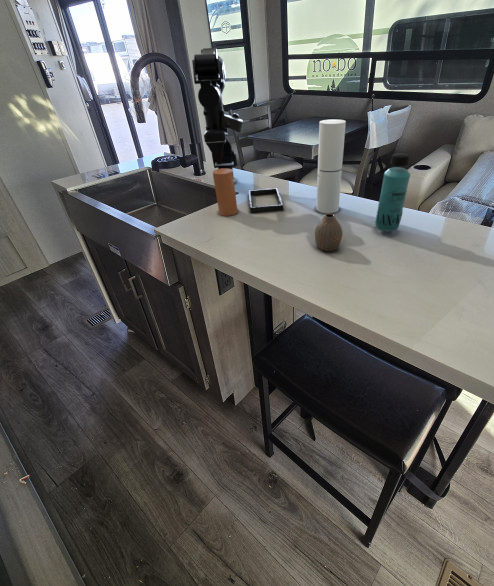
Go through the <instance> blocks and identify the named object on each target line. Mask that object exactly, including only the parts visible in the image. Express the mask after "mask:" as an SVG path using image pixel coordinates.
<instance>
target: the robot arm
mask: <svg viewBox="0 0 494 586" xmlns="http://www.w3.org/2000/svg"><path fill="white" fill-rule="evenodd" d="M191 61H192V74H193V83H194V85H200V88H199V90H198V93H197V97H198V98H197V99H198V102H199V103H200V105H201V106H202V108H203V112H202V113H203V116H204V121H205V132H204V133H203V139H204V140H203V141H204V143H205V145H206V146H207V148H208V149H209V151H210V153H211V159H212V162H213V163H212V164H213V168H214V169H222V168H229V169H232V170H233V171H234V168H236V167H238V159H237V153H236V152H235V150H234V149H233V148H232V145H231V143H230V141H229V140H228V138H227V137H228V134H229V133H228V132H229V130H228V129H230V130H232V131H235V132H236V133H241V131H242V127H243V122H244V121H243V119H241V118H240V117H239V114H238V113H235V112H234V113H232V114H231V115H228V114H226V113H225V109H224V104H223V96H222V95H223V92H224V90H225V87H226V86H225V85H226V84H225V81H226V80H227V76H226V68H225V62H224V60H223V58H222V57H221V56H220V55H218V51H217V48H214V47H205V48H204V47H203V48H202V49H200V53H199V54H194V55H193V59H191ZM234 175H235V174H233V178H234V184H236V177H235V176H234Z"/></svg>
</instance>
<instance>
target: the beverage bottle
mask: <svg viewBox="0 0 494 586" xmlns="http://www.w3.org/2000/svg"><path fill="white" fill-rule="evenodd" d="M409 160H410V155H409V154H406V153H393V154H392V156H391V159H390V162H389V164H390V165H391V166H396V167H390V168H388V169H387V170H385V171H384V173H383V178H382V184H381V191H380V196H379V199H378V205H377V210H376V214H375V220H374V222H375V228H376V229H378V230H379V231H382V232H383V231H384V232H394V231H397V230H398V228H399V227H400V224H401V222H402V217H403V211H404V205H405V203H406V202H405V201H406V196H407V193H408V191H407V190H408V186H409V181H410V177H411V172H410V171H409V170H408V169H406V168H405V166H408V165H409Z"/></svg>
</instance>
